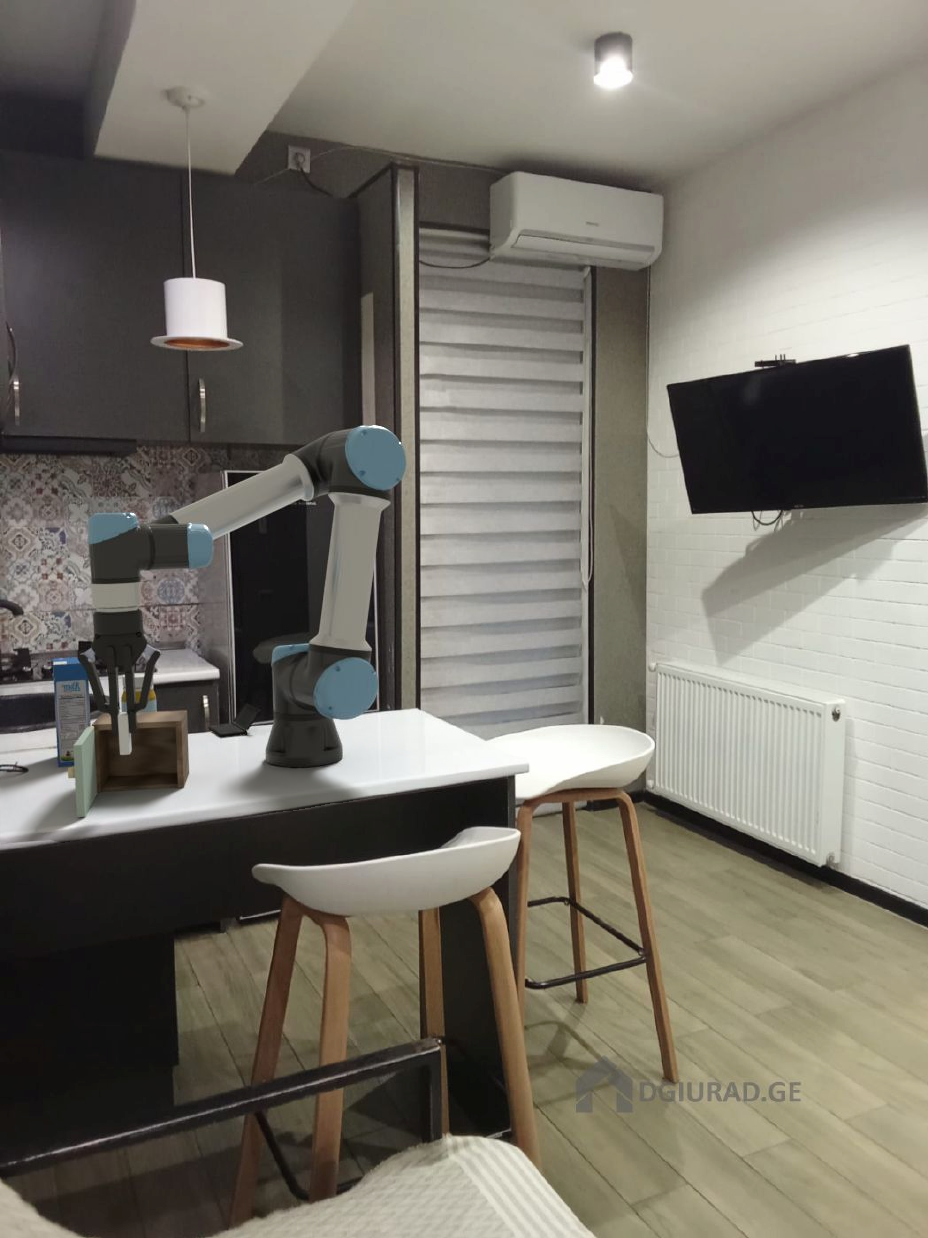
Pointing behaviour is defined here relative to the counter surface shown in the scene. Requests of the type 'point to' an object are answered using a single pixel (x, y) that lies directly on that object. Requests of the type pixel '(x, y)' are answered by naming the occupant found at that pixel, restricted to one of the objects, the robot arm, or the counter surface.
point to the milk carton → (70, 706)
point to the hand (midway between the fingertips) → (125, 752)
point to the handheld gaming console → (237, 723)
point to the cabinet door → (84, 771)
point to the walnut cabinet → (143, 753)
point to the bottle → (138, 687)
